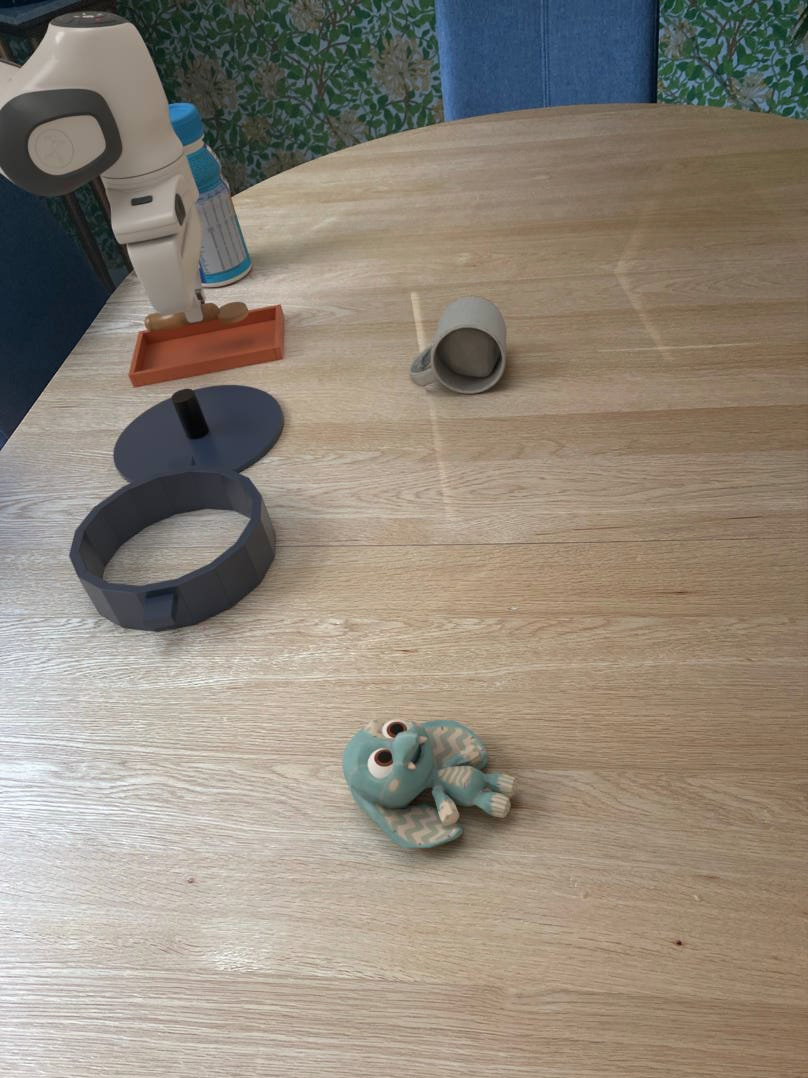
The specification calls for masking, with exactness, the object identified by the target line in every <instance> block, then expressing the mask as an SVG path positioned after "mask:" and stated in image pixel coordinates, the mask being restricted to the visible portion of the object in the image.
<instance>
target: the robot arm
mask: <svg viewBox="0 0 808 1078" xmlns="http://www.w3.org/2000/svg"><path fill="white" fill-rule="evenodd" d="M0 174H1V175H2V176H4V178H6V179H7V180H9V181H10V182H12V183H13V184H14V185H16V186H17V187H18V188H20V189H22V190H23V191H25V192H28V193H29V194H32V195H35V196H40V197H46V198H47V197H49V198H51V197H53V198H54V197H60V196H64V195H67V194H69V193H72V192H74V191H75V190H77V189H79V188H81V187H82V186H85V185H87V183H89V182H91V181H92V180H94V179H96V178H98V177H99V176H100V179H101V182H102V184H103V187H104V189H105V195H106V197H107V200H108V202H109V206H110V208H109V209H110V221H111V222H110V223H111V229H112V232H113V235H114V238H115V239H116V242H117V243H118V244H119V245H126V250H127V254H128V257H129V260H130V262H131V265H132V267H133V270H134V272H135V274H136V276H137V278H138V281H139V282H140V285H141V286H142V289H143V291H144V293H145V295H146V297H147V299H148V301H149V303H150V305H151V307H152V308H153V309H154V310H155V311H156V313H159V314H160V315H162V316H166V315H172V314H177V313H182V312H184V313H185V316H186V318H187V320H188V322H191V323H193V322H199V321H202V319H203V314H204V311H203V308H202V305H201V304H205V303H206V300H207V297H206V294H205V291H204V289H203V288H204V287H202V284H201V278H200V272H199V267H198V265H199V259H200V253H201V246H202V240H203V235H204V233H203V226H202V222H201V219H200V216H199V214H198V211H197V208H196V206H195V202H196V201H197V200H198V197H199V192H198V189H197V186H196V183H195V180H194V177H193V174H192V171H191V168H190V165H189V162H188V159H187V156H186V153H185V150H184V148H183V145H182V143H181V141H180V140H179V138H178V137H177V135H176V133H175V132H174V130H173V127H172V124H171V121H170V115H169V100H168V98H167V95H166V92H165V89H164V87H163V84H162V81H161V78H160V76H159V73H158V71H157V68H156V65H155V63H154V60H153V59H152V56H151V53H150V51H149V49H148V47H147V45H146V43H145V41H144V39H143V37H142V35H141V34H140V32H139V30H138V29H137V28H136V26H135V25H134V24H133V23H131V22H130V21H129V20H128V19H126V18H124V17H122V16H120V15H117V14H115V13H112V12H108V11H95V10H88V11H86V10H85V11H76V12H68V13H65V14H62V15H59V16H55V18H53V19H51V21H50V22H49V23H48V27H47V30H46V33H45V35H44V37H43V38H42V40H41V41H40V43H39V45H38V47H37V48H36V49H35V50H34V51H33V54H32V55H31V56H30V57H29V59H28V60H26V62H25V63H24V64H23V65H20V64H18V63H16V62H14V61H11V60H8V59H6V58H2V57H0Z"/></svg>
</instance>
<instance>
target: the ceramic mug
mask: <svg viewBox="0 0 808 1078" xmlns="http://www.w3.org/2000/svg"><path fill="white" fill-rule="evenodd" d="M429 364H430V366H431V367H428V368H427V366H428V365H429ZM506 364H507V325H506V322H505V318H504V316H503V314H502V312H501V310H500V309H499V307H497V305H495V304H494V303H493V302H491V301H490V300H488V299H486V298H484V297H481V296H477V295H476V296H475V295H468V296H462V297H460V298H456V299H455V300H454V301H452V302H451V303H450V304H449V305H448V306H447V307H446V308H445V309H444V310H443V311H442V314H441V315H440V317H439V321H438V322H437V325H436V331H435V335H434V338H433V343H432V344H431V345H429V346H428V347H426V348H425V349H423V350H422V351H421V352H420V353H419V354H418V355H417V356H416V357H415V359H414V360H413V361H412V363H411V364H410V365H409V366H410V367H409V370H408V373H409V376H410V377H411V379H412V380H413V381H414V383H415V384H416V385H419V386H422V387H425V386H426V387H427V386H428V385H431V384H434V383H437V382H438V381H439V383H441V384H442V385H443V386H444V387H446V388H447V389H449V390H451V391H452V392H455V393H459V394H465V395H474V394H480V393H484V392H485V391H487V390H489V389H491V388H493V387H494V386H495V385H496V384H498V382H499V381H500V379H501V378H502V376H503V374H504V372H505V369H506V366H507V365H506ZM425 368H427V369H425Z"/></svg>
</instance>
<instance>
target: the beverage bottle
mask: <svg viewBox="0 0 808 1078" xmlns="http://www.w3.org/2000/svg"><path fill="white" fill-rule="evenodd" d="M168 104H169V103H168ZM197 109H198V108H197V107H196V106H195V105H194V104H193V103H189V102H176V103H170V104H169V115H170V121H171V124H172V127H173V130H174V132H175V133H176V135H177V137H178V138H179V140H180V141H181V143H182V145H183V148H184V150H185V153H186V156H187V159H188V162H189V165H190V168H191V171H192V174H193V177H194V180H195V183H196V186H197V189H198V192H199V197H198V200H197V201H196V202H195V206H196V208H197V211H198V214H199V216H200V219H201V222H202V226H203V233H204V235H203V240H202V246H201V253H200V259H199V265H198V267H199V272H200V278H201V284H202V288H218V287H222V286H223V287H224V286H227V285H230V284H233V283H235V282H238V281H240V280H241V279H243V278H244V277H245V276H247V275H248V274H249V272H251V270H252V266H253V265H252V264H253V261H252V258H251V255H250V253H249V251H248V247H247V244H246V241H245V238H244V235H243V231H242V229H241V224H240V222H239V218H238V215H237V212H236V209H235V205H234V203H233V202H234V201H233V198H232V194H231V188H230V184H229V182H228V180H227V178H226V177H225V176H224V175H223V173H222V163H221V161H220V159H219V157H218V155H217V154H216V153H215V151H214V150H213V149H212V148H211V147H210V146H209V145H208V144H207V143H206V142H205V141H204V140H203V139H204V137H205V129H204V126H203V123H202V119H201V115H200V113H199V110H197Z"/></svg>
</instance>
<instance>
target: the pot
mask: <svg viewBox="0 0 808 1078" xmlns="http://www.w3.org/2000/svg"><path fill="white" fill-rule="evenodd" d="M201 510H218V511H230V512H231V511H232V512H236V513H237V514H240V515H242V516H243V517H244V516H245V517H246V518H249V521H248V523H247V524H246V526H245V527H244V529H243V531H242V532H241V533H240V535H239V537H238V538H237V540H236V542H235V543H234V544H232V545H231V546H230V547H229V548H228V549H226V550H225V551H224V552H222V553H221V554H220V555H219V556H217V557H216V558H215V559H214V560H212V561H211V562H210V563H207V564H205V565H204V566H202V567H199V568H197V569H194V570H193V571H191V572H188V573H186V574H183V575H182V576H179V577H177V578H174V579H168V580H163V581H157V582H153V583H147V584H141V585H134V584H125V583H113V582H109V581H106V580H104V579H103V577H104V573H105V572H104V571H105V568H106V566H108V564H109V563H110V561H111V560H112V559H113V557H114V556H115V555H116V554H117V552H118V551H119V549H120V548H121V547H122V546H123V545H124V544H125V543H127V542H128V541H129V540H131V539H133V538H134V537H135V536H136V535H138V534H139V533H141V532H142V531H143V530H144V529H145V528H147V527H150V526H152V525H155V524H157V523H159V522H162V521H164V520H166V519H169V518H171V517H174V516H176V515H181V514H186V513H191V512H195V511H196V512H197V511H201ZM276 539H277V532H276V530H275V528H274V525H273V522H272V519H271V516H270V514H269V511H268V509H267V506H266V503H265V501H264V497H263V495H262V494H261V492H260V490H258V488H257V487H256V486H255V484H254V482H253V481H252V480H251V478H250V477H249V476H246V475H244V474H241V473H240V472H239V473H237V472H234V471H232V470H230V469H227V468H225V467H213V466H196V463H195V461H194V458H193V456H188V457H183V458H177V459H172V460H168V463H167V469H166V471H161V472H156V473H154V474H152V475H149V476H147V477H144V478H142V479H140V480H137V481H135V482H133V483H130V482H129V483H128V484H125V485H123V486H121V487H120V488H119V489H117V490H116V491H114V492H112V494H110V495H109V496H107V497H106V498H105V499H103V500H101V501H100V502H99V503H97V504H96V505H95V506H94V507H93V508H92V509H91V510H90V512H89V513H88V514H87V515H86V516H85V518H84V519H83V520H82V521H81V522H80V524H79V525H78V526H77V528H75V530H74V534H73V538H72V542H71V546H70V549H69V553H68V557H69V559H70V562H71V564H72V567H73V569H74V571H75V574H76V576H77V578H78V580H79V582H80V584H81V585H82V587H83V588H84V590H85V592H86V594H87V595H88V597H89V599H90V600H91V603H92V604H93V606H94V607H95V609H96V611H97V613H98V614H99V615H100V616H102V617H104V618H106V619H107V620H108V621H110V622H111V623H113V624H116V625H117V626H118V627H121V628H123V629H130V630H136V631H145V632H146V631H147V632H162V631H170V630H174V629H175V630H176V629H180V628H185V627H189V626H193V625H197V624H199V623H202V622H203V621H206V620H209V619H211V618H213V617H216V616H217V615H219V614H221V613H223V612H226V611H227V610H229V609H230V608H232V607H234V606H235V605H236V604H238V603H240V602H241V601H242V600H243V599H244V598H246V597H247V596H248V595H249V594H250V593H251V592H252V591H254V589H256V588H257V587H258V586H259V585H260V584H261V583H262V581H263V579H264V578H265V576H266V574H267V572H268V571H269V569H270V567H271V566H272V564H273V562H274V561H275V559H276V542H277V540H276Z"/></svg>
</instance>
